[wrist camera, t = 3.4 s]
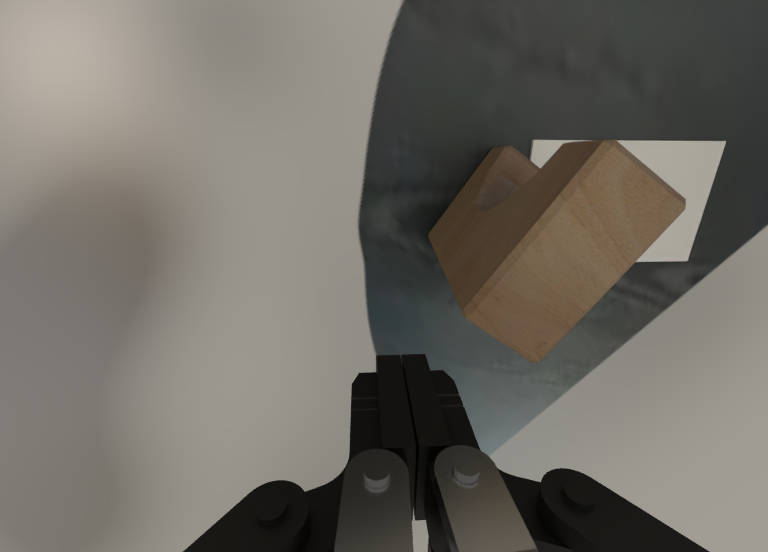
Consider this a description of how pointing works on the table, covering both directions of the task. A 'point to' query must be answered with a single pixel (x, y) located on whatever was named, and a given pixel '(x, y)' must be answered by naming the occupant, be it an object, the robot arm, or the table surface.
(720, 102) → the table surface
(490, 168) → the decorative block
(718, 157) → the mat
